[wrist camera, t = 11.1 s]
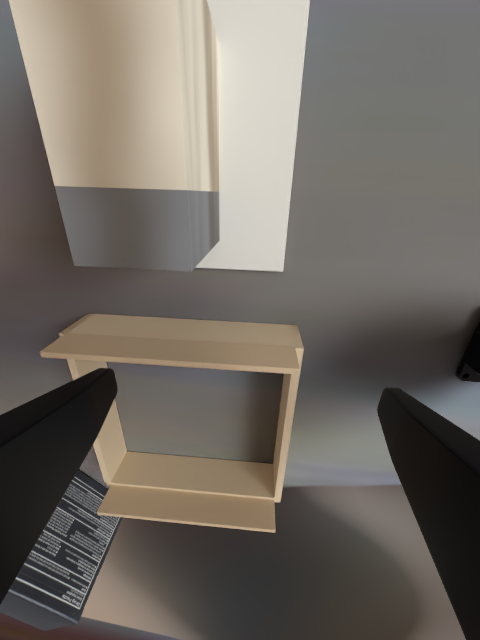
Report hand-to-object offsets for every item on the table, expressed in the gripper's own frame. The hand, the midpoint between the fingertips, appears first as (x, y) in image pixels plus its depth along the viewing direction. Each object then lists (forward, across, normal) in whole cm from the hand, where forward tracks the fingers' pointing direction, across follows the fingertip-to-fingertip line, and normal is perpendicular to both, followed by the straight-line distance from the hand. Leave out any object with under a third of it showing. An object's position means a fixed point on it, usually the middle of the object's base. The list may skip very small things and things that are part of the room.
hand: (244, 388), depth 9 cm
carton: (+12, +5, +12) cm, 18 cm away
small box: (+12, +20, +28) cm, 37 cm away
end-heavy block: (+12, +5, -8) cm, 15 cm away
